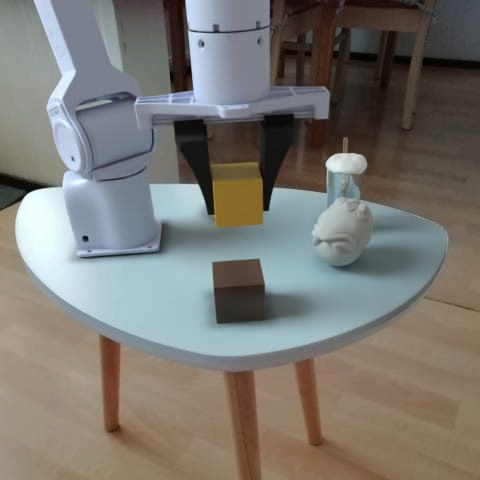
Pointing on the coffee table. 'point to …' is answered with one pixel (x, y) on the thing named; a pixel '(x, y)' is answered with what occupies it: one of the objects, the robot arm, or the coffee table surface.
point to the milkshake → (345, 175)
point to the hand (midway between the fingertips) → (237, 208)
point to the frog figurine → (343, 231)
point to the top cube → (237, 194)
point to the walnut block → (238, 290)
